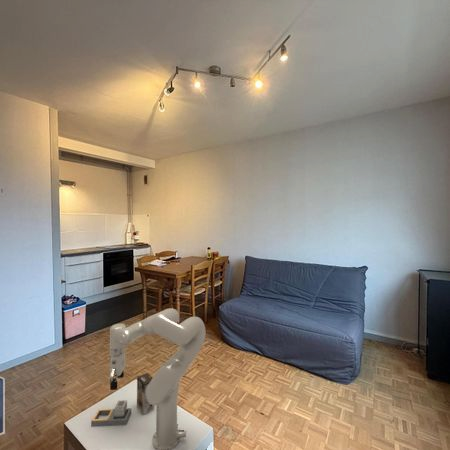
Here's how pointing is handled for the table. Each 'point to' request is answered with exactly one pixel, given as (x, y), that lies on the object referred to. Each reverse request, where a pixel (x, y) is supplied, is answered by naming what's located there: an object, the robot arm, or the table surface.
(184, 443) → the table surface
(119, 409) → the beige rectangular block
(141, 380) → the coffee box
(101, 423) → the frame with rectangular openings
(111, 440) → the table surface
